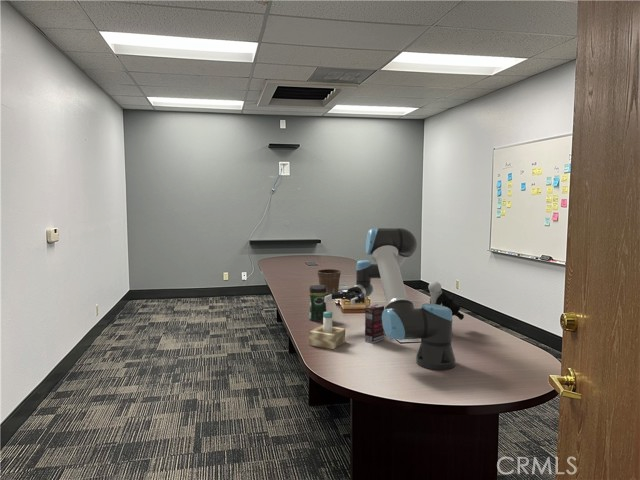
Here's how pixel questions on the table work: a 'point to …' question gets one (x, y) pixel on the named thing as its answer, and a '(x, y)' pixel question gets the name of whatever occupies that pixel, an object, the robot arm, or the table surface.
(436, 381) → the table surface
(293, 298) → the table surface
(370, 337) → the supplement box
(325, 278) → the plant pot
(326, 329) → the marker
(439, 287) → the sculpture
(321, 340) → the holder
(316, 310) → the coffee jar
